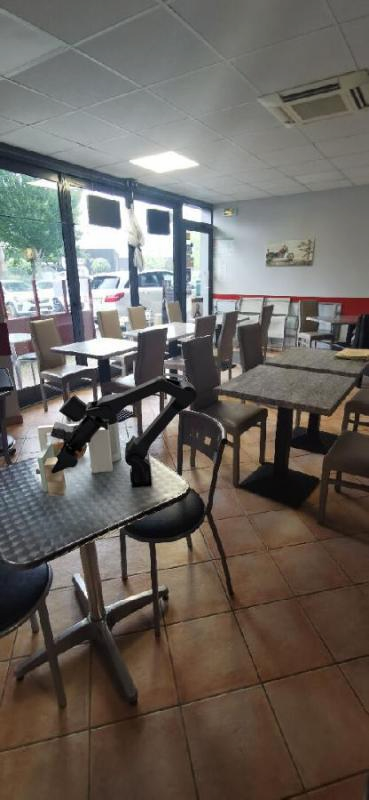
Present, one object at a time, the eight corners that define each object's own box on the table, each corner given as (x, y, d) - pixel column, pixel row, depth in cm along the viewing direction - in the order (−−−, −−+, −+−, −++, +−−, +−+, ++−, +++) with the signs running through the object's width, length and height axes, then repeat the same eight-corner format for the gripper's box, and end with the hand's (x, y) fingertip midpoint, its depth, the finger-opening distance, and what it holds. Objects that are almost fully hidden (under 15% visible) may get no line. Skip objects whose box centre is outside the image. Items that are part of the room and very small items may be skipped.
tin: (51, 468, 144) (47, 447, 141) (47, 465, 146) (44, 445, 143) (88, 455, 153) (85, 435, 150) (84, 452, 155) (81, 432, 153)
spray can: (125, 456, 150) (120, 407, 144) (113, 464, 145) (107, 413, 139) (111, 453, 154) (106, 404, 147) (99, 460, 148) (93, 410, 142)
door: (47, 491, 128) (42, 457, 124) (38, 491, 128) (32, 458, 124) (57, 472, 139) (52, 441, 136) (48, 473, 139) (43, 442, 135)
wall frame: (112, 468, 142) (107, 421, 136) (112, 471, 140) (106, 424, 134) (47, 472, 141) (39, 425, 135) (45, 476, 139) (37, 428, 133)
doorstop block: (66, 486, 131) (61, 456, 128) (63, 494, 127) (59, 463, 123) (52, 488, 131) (47, 457, 127) (49, 496, 126) (44, 465, 123)
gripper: (69, 404, 130) (39, 438, 132) (59, 426, 112) (25, 465, 115) (96, 424, 133) (67, 457, 136) (91, 448, 116) (57, 486, 118)
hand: (54, 465), depth 126 cm, fingers open, 9 cm apart
